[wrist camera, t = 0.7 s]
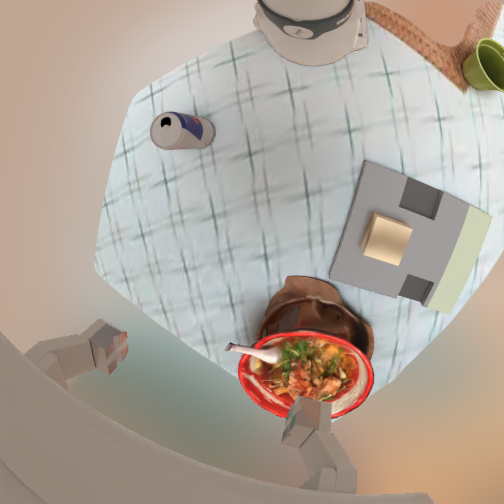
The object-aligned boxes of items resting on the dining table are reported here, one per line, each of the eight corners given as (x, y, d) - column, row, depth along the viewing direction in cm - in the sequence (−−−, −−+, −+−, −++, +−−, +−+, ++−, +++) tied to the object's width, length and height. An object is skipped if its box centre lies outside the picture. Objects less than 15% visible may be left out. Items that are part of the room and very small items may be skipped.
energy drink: (215, 116, 42) (182, 107, 31) (216, 147, 44) (184, 147, 33) (186, 120, 43) (147, 115, 32) (188, 150, 45) (149, 152, 34)
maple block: (372, 210, 40) (377, 216, 36) (405, 222, 39) (412, 229, 35) (360, 245, 42) (363, 254, 38) (392, 256, 41) (398, 266, 38)
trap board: (364, 160, 39) (366, 161, 37) (487, 214, 36) (492, 216, 34) (328, 273, 47) (329, 278, 45) (446, 308, 44) (449, 314, 42)
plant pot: (474, 45, 25) (496, 33, 17) (501, 90, 26) (526, 85, 19) (445, 58, 28) (466, 44, 21) (473, 106, 30) (499, 101, 22)
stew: (219, 315, 56) (187, 367, 41) (316, 249, 46) (313, 295, 32) (299, 395, 59) (290, 450, 45) (391, 351, 50) (404, 410, 35)
